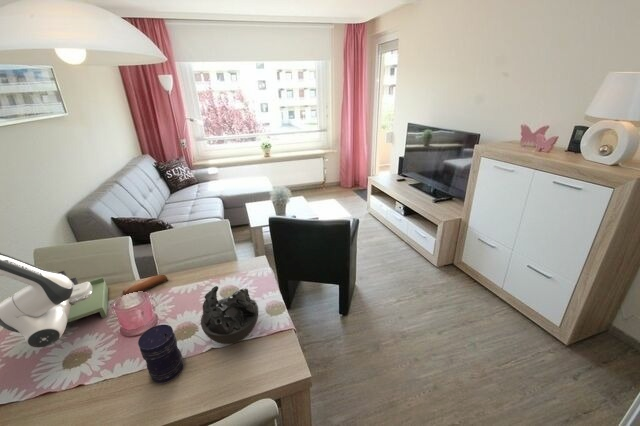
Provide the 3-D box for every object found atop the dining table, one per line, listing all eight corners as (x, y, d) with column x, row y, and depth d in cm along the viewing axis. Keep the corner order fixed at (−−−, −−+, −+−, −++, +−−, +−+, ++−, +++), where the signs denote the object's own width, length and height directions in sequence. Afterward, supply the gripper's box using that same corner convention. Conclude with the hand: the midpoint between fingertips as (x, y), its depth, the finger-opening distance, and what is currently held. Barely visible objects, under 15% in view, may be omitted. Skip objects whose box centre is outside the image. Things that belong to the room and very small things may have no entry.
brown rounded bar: (161, 273, 146) (161, 266, 141) (168, 284, 143) (168, 277, 139) (120, 291, 134) (118, 284, 129) (127, 304, 132) (125, 297, 127)
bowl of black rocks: (268, 343, 104) (261, 301, 97) (209, 366, 96) (198, 323, 89) (254, 308, 121) (247, 271, 113) (203, 326, 113) (192, 286, 105)
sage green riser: (43, 339, 111) (35, 325, 108) (53, 306, 128) (47, 293, 125) (106, 316, 120) (100, 303, 117) (108, 288, 137) (103, 276, 134)
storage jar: (146, 386, 91) (131, 351, 85) (157, 359, 100) (144, 326, 94) (179, 380, 92) (167, 346, 86) (187, 354, 101) (177, 322, 95)
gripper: (87, 289, 103) (90, 271, 114) (9, 313, 93) (20, 290, 104) (93, 303, 105) (96, 284, 116) (18, 328, 96) (28, 304, 106)
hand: (60, 287), depth 110 cm, fingers closed on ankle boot, 5 cm apart
